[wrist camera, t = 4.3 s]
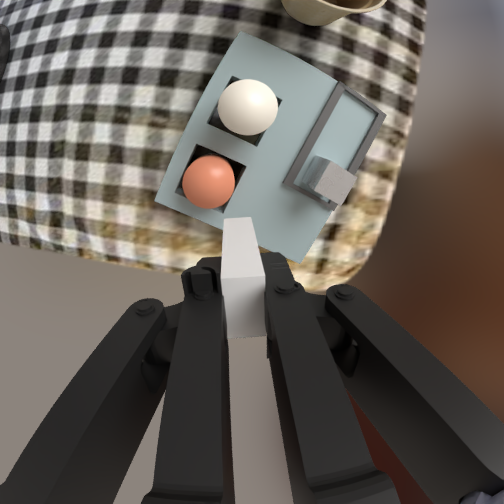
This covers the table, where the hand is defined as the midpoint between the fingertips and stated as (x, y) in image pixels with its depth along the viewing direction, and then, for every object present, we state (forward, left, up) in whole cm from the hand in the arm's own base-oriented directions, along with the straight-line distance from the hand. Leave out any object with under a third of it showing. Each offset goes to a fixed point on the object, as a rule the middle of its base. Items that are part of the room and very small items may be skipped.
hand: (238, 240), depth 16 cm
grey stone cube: (+6, +6, -10) cm, 13 cm away
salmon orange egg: (-3, +1, -13) cm, 13 cm away
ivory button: (-3, +8, -10) cm, 13 cm away
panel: (+1, +6, -13) cm, 14 cm away
